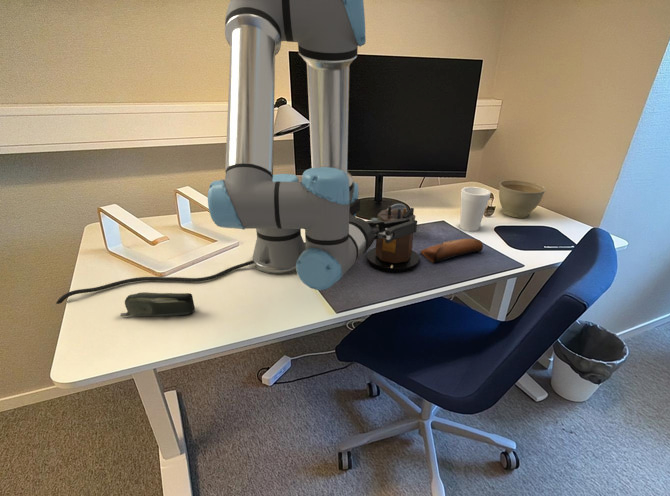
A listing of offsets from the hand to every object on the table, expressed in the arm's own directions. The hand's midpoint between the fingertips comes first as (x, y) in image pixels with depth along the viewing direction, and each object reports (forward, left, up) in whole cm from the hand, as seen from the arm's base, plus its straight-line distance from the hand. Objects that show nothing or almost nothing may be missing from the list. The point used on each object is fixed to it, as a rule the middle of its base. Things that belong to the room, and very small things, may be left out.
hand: (384, 208), depth 95 cm
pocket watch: (+16, +31, -19) cm, 39 cm away
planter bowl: (+71, +28, -19) cm, 78 cm away
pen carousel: (+7, +7, -17) cm, 20 cm away
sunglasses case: (+27, +6, -19) cm, 33 cm away
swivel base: (+8, +8, -19) cm, 22 cm away
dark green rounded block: (-53, +2, -19) cm, 57 cm away
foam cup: (+45, +22, -19) cm, 53 cm away
